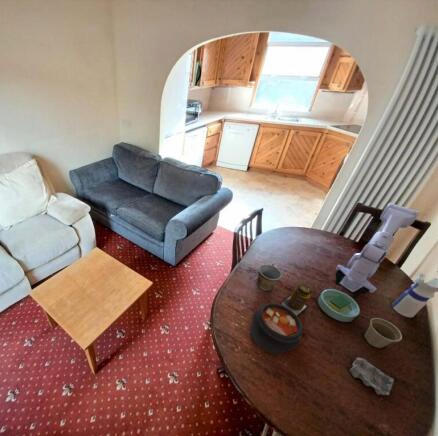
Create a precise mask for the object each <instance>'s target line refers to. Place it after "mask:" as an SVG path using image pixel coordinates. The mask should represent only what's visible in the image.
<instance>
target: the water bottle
mask: <svg viewBox="0 0 438 436" xmlns="http://www.w3.org/2000/svg"><path fill="white" fill-rule="evenodd" d="M436 273H438V270H437V271H436ZM425 279H426V275H425V274H423V273H421V274H419V275H417V276H416V277H414V278H413V280H414V282H415V283H413V284H411V285H410V287H409V289H407V290H405V291H404V292H403V293H401V295H400V296H399V297H398V298H397V299H396V300H394V301H393V302H392V303H391V308H393V310H394V311H395V312H396V313H398V314H399V315H401V316H403V317H406V318H414V317H415V316H416V315H417V314H418V313H419V312H420V311H421V310H422V309H423V308H424V307H425V306H426V305H427V303H428V301H429V300H430V299H433V298H434V297H435V293H438V278H435V277H434V278H432V279H430V280H429V281H427V282H425Z"/></svg>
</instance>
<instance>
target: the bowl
mask: <svg viewBox="0 0 438 436" xmlns="http://www.w3.org/2000/svg"><path fill="white" fill-rule="evenodd" d="M339 295H341V296H343V297H344V298H345V299H347V300H348V301H349V302H351V303H350V304H349V305H348V307H347V308H346V309H344V310H343V311H341V312H339V313H338V312H336V311H335V310H333V309H332V308H330V307H329V306H328V303H329V302H330V300H332V299H334V298H336V297H337V296H339ZM317 303H318V305H319V306H318V307H320V309H321V310H322V311H323V312H324V313H325V314H326V315H327V316H328V317H331V318H332V319H334V320H337V321H339V322H343V323H344V322H345V323H350V322H352V321H354V320H355V319H356V318H357V317H358V316H359V315H360V311H361V310H360V306H359V305H358V303H357V302H356V300H355V299H354V298H353V297H351V296H349V294H347V293H345V292H344V291H343V292H342V291H341V290H337V289H331V288H328V289H325V290H323V291H322V292H321V294H320V295H319V296H318V298H317Z"/></svg>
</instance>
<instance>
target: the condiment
mask: <svg viewBox="0 0 438 436" xmlns="http://www.w3.org/2000/svg"><path fill="white" fill-rule="evenodd" d="M311 294H312V288H311V286H309V285H307V284H305V283H299V284H298V285H297V286H296V287H295V288H294V290H293V292H292V293H291V295H290V296H289V297H288V298H286V299H285V300H284V301H282V303H281V305H283V306H285V307H287V308H289V309H290V310H291V311H293V312H294V313H295V314H296V315H297V316H298V315H299V314H301V312H303V311H304V310H305V309H306V308H307V307H308V306H307V305H306V303H307V302H308V300H309V299H310V297H311Z"/></svg>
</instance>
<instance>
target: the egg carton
mask: <svg viewBox="0 0 438 436" xmlns="http://www.w3.org/2000/svg"><path fill="white" fill-rule="evenodd" d="M351 366H352V367H351V368H350V369H349V372H350V373H351V375H352V376H353V378H355V379H358V378H359V379H360V380H361V381H362V383H363V385H365V386H367V387H371V388H372V389H374V391H375V393H376V394H377V395H379V396H381V395H382V396H386V395H387V396H390V393H391V390H392V388H393V384H394V381H395V379H394V378H392V377H391V376H389V375H387V374H385V373H384V372H383V371H381V369H379V368H377V367H376V366H374V365H373V364H372V363H370V362H369V361H368V360H366V359H365V358H363V357H356V359H355V360H354V361H353V363H352V364H351Z"/></svg>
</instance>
